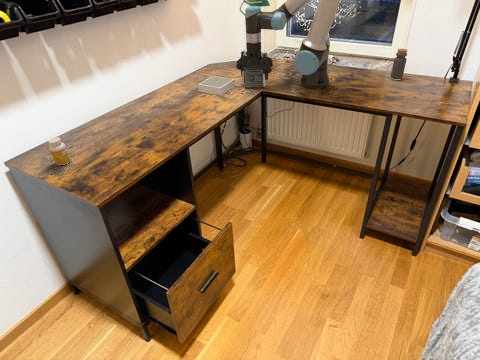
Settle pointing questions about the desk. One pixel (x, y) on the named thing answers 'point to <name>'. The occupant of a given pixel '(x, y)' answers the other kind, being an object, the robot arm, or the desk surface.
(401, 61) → the bottle
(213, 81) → the base
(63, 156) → the supplement bottle
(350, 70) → the desk surface
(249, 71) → the small box
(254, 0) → the banker's lamp
